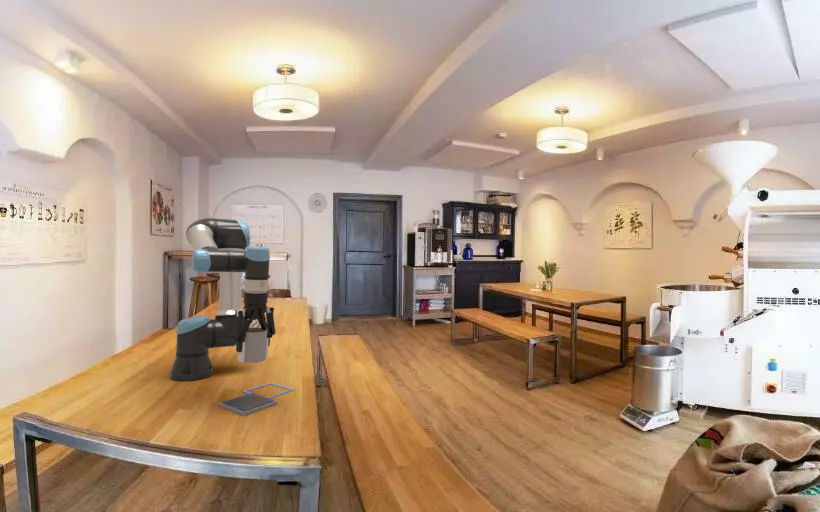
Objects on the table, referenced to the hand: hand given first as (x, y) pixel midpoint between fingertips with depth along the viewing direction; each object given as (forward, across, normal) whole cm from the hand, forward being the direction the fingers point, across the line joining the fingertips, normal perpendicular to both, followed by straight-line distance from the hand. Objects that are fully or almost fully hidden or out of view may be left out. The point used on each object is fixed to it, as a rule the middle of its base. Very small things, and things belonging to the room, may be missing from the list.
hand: (252, 358), depth 137 cm
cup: (0, 0, 0) cm, 0 cm away
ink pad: (+15, -2, -1) cm, 15 cm away
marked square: (+15, +11, +5) cm, 19 cm away
